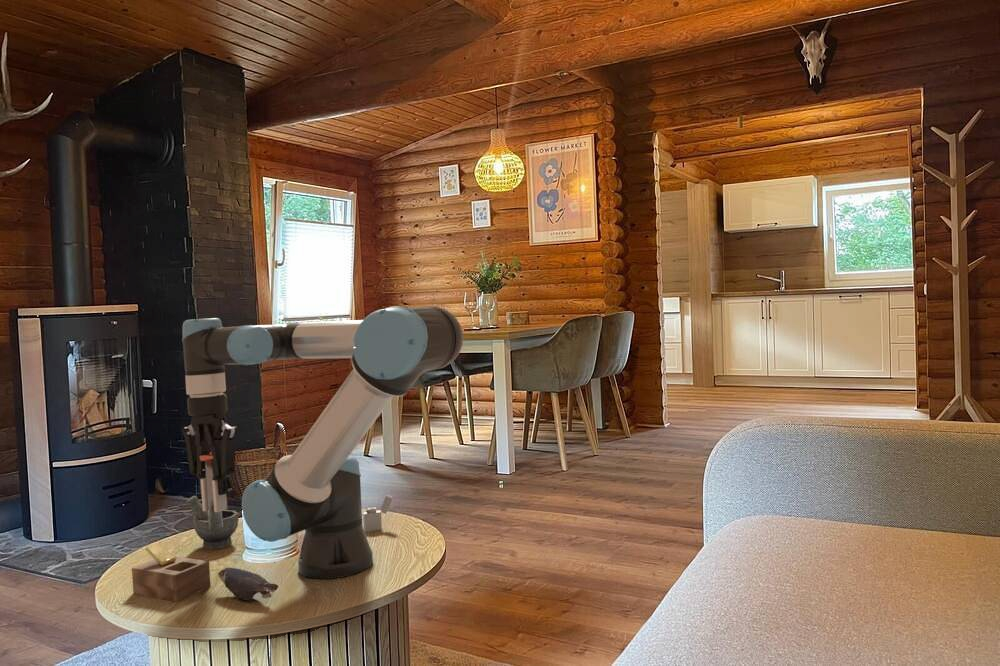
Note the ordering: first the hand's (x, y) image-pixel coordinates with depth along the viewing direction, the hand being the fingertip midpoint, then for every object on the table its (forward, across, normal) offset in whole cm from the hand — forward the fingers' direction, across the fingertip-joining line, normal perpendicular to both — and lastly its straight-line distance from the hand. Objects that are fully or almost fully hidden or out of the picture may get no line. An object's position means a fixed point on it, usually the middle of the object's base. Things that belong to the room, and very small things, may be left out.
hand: (215, 509), depth 155 cm
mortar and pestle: (+14, +18, -15) cm, 27 cm away
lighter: (+14, -12, -38) cm, 42 cm away
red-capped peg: (+4, 0, 0) cm, 4 cm away
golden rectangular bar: (+7, +6, +9) cm, 13 cm away
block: (+14, +3, +9) cm, 17 cm away
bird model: (+14, -14, +7) cm, 21 cm away
